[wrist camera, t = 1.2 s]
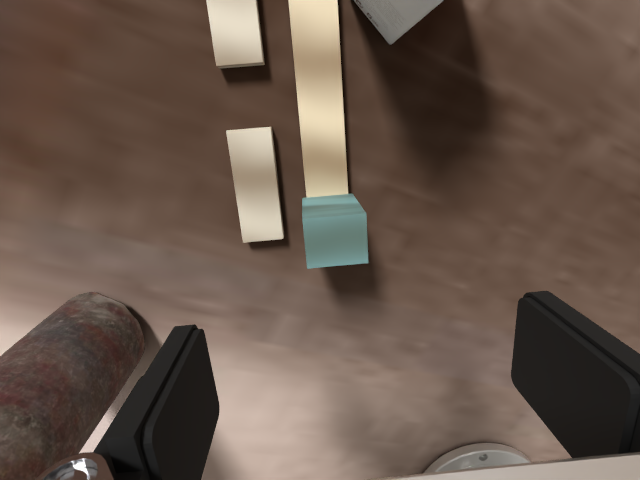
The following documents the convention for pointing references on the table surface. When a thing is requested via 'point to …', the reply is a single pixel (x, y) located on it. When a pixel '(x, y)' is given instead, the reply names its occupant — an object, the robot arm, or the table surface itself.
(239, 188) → the broken strip
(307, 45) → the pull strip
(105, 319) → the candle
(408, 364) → the table surface
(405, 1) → the skincare box
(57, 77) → the table surface
